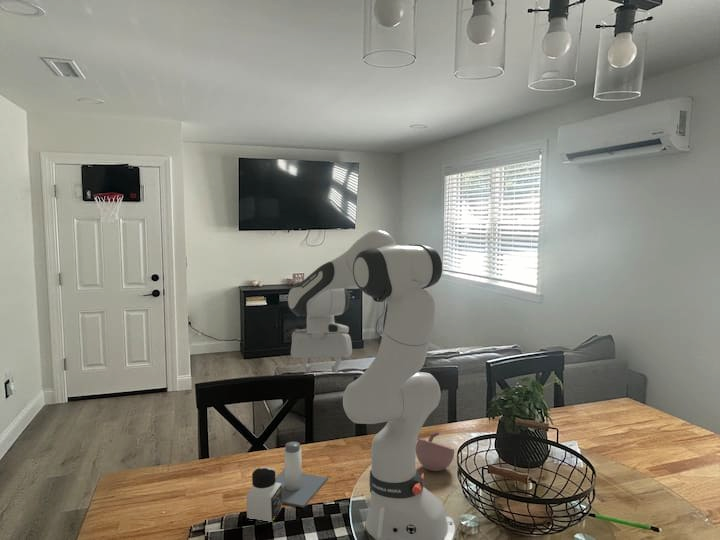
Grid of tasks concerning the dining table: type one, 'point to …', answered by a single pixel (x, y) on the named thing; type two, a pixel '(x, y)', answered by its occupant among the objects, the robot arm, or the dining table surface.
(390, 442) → the robot arm
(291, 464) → the white pill bottle
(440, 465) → the mortar and pestle
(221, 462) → the dining table surface
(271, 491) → the medicine bottle
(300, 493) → the slate mat
